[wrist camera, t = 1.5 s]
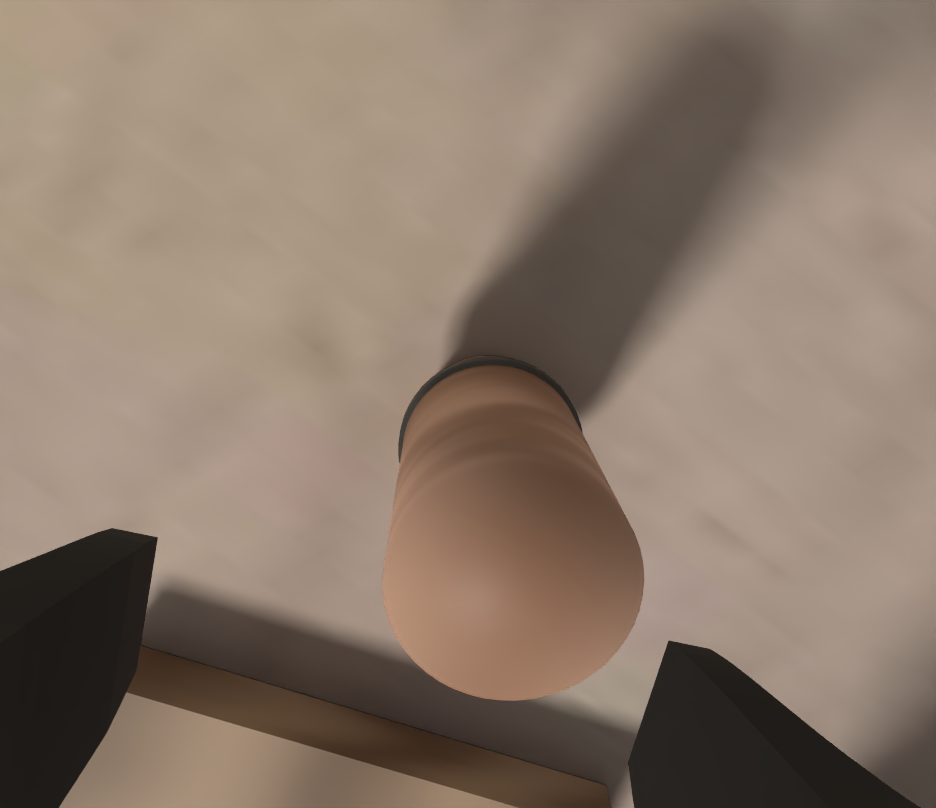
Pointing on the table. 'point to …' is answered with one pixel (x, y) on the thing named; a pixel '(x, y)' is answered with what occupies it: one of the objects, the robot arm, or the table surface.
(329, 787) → the board
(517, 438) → the peg
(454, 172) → the table surface
